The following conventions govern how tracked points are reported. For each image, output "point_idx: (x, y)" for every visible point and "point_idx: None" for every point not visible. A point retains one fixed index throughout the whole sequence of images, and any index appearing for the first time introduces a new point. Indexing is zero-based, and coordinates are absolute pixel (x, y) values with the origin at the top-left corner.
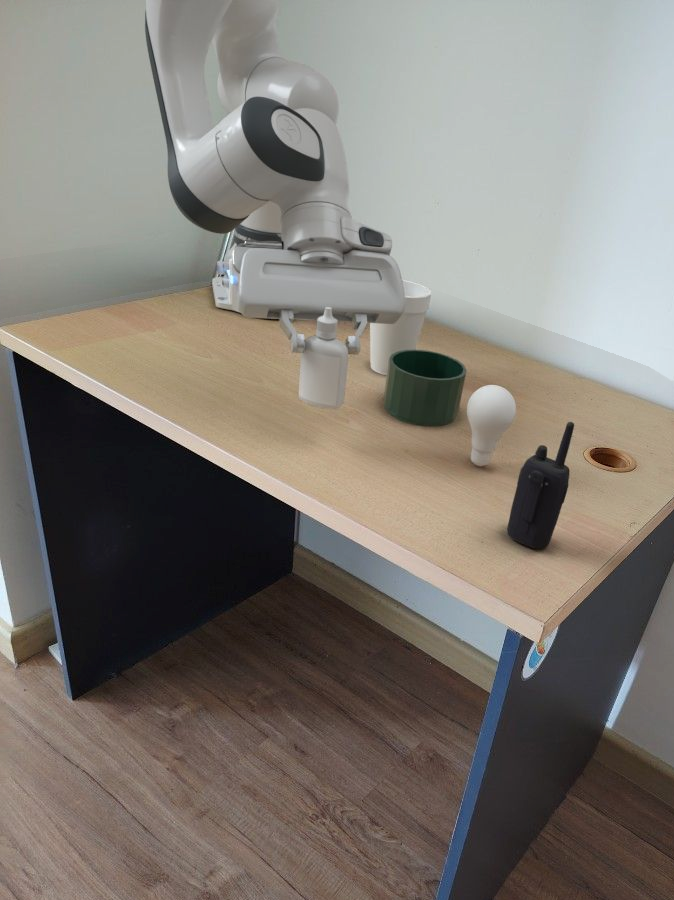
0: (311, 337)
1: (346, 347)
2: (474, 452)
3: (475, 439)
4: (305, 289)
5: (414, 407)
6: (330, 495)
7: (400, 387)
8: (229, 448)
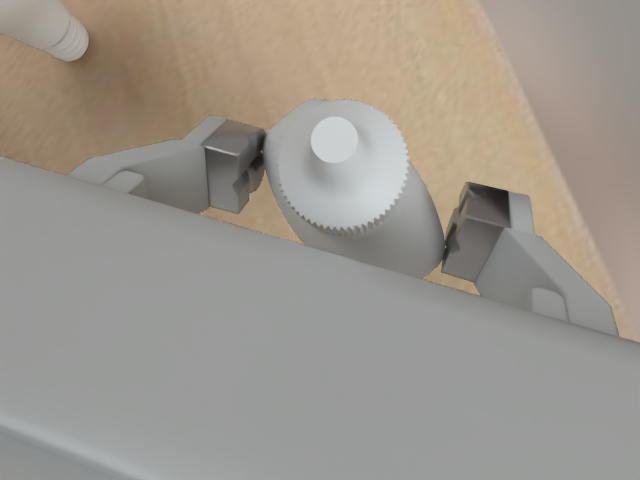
0: (410, 231)
1: (272, 131)
2: (73, 25)
3: (54, 2)
4: (443, 417)
5: None
6: (442, 13)
7: None
8: (585, 262)
